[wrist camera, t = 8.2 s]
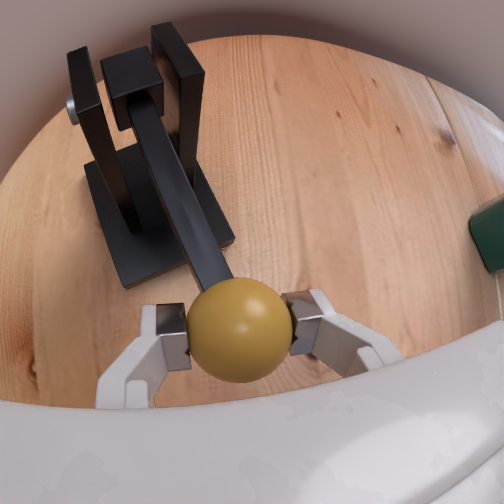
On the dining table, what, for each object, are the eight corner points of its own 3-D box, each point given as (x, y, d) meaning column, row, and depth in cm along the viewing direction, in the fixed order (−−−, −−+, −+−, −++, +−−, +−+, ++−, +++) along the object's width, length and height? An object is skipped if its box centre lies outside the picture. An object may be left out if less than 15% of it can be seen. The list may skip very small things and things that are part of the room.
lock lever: (288, 347, 12) (328, 356, 9) (210, 388, 11) (222, 415, 8) (161, 82, 13) (162, 31, 10) (95, 105, 12) (82, 55, 9)
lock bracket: (233, 242, 24) (295, 120, 10) (126, 290, 21) (37, 216, 7) (180, 136, 26) (189, -9, 12) (87, 172, 23) (29, 39, 9)
